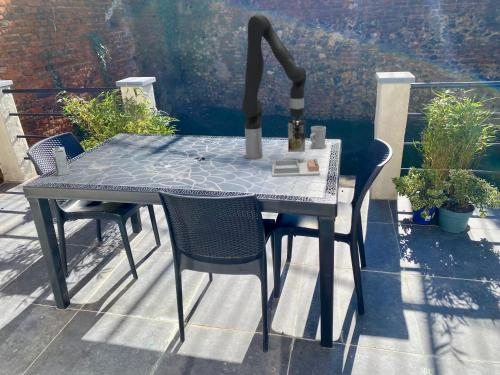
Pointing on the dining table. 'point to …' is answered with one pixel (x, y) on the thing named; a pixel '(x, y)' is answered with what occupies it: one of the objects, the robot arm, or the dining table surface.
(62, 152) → the syrup box
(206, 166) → the dining table surface
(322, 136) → the cup
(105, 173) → the dining table surface
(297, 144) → the coffee box
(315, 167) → the pink rectangular block
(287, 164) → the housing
